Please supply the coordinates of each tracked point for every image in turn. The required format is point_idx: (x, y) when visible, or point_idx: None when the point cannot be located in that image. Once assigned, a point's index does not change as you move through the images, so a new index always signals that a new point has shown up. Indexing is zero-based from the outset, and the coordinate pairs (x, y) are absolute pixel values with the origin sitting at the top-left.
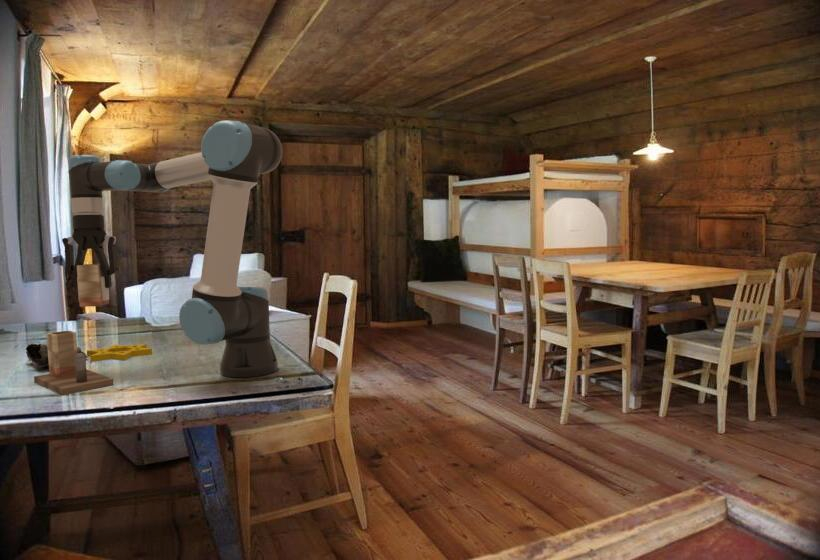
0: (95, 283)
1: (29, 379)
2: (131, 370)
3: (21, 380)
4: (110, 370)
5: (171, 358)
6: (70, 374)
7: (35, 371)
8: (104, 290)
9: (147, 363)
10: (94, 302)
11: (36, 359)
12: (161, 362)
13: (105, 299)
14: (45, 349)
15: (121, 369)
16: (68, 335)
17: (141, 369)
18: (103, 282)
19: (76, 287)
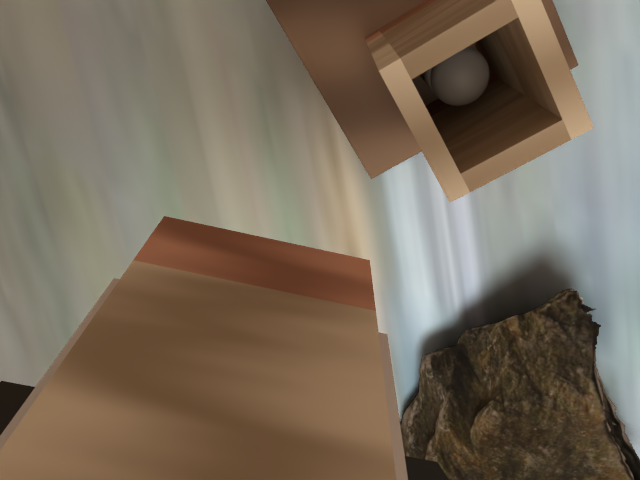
0: (119, 373)
1: (593, 134)
2: (155, 149)
3: (627, 126)
4: (255, 187)
5: (37, 333)
6: (402, 14)
7: (580, 291)
8: (66, 344)
9: (119, 272)
10: (215, 245)
11: (594, 308)
12: (59, 269)
13: (108, 291)
14: (569, 355)
15: (208, 189)
16: (428, 39)
17: (112, 153)
18: (18, 421)
19: (425, 474)
